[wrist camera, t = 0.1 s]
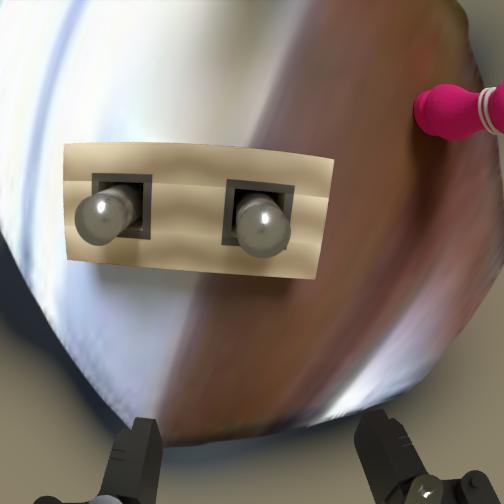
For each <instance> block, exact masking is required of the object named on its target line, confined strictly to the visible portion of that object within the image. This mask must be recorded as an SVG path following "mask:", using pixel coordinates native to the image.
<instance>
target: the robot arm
mask: <svg viewBox="0 0 504 504" xmlns="http://www.w3.org/2000/svg"><path fill="white" fill-rule="evenodd" d="M354 444H355V448H356V451H357V453H358V456H359V459H360V461H361V464H362V467H363V470H364V472H365V475H366V478H367V480H368V483H369V486H370V489H371V492H372V495H373V497H374V500H375V503H376V504H501V503H500V501H499V499H498V497H497V495H496V493H495V491H494V489H493V487H492V486H491V483H490V481H489V479H488V477H487V476H486V475H485V474H484V473H483V472H481V471H477V470H473V471H470V472H468V473H466V474H465V475H464V476H463V477H462V478H461V479H453V480H440V479H439V478H438V477H436V476H434V475H431V474H428V472H427V471H426V469H425V467H424V465H423V463H422V461H421V459H420V457H419V456H418V454H417V452H416V450H415V448H414V446H413V445H412V442H411V440H410V438H409V437H408V434H407V432H406V431H405V429H404V427H403V425H402V424H400V423H399V422H398V421H397V420H396V419H394V418H392V419H388V417H387V415H386V413H385V411H384V410H383V409H381V408H380V409H374V410H369V411H364V412H363V414H362V416H361V419H360V421H359V424H358V426H357V429H356V431H355V434H354ZM162 454H163V444H162V439H161V436H160V432H159V429H158V425H157V422H156V420H155V419H149V418H139V417H136V418H135V420H134V423H133V427H132V430H130V429H122V431H121V432H120V433H119V434H118V435H117V436H116V437H115V440H114V443H113V446H112V451H111V453H110V457H109V458H110V459H109V460H108V464H107V467H106V471H105V475H104V478H103V482H102V485H101V489H100V492H99V494H98V495H97V496H96V497H95V498H93V499H92V500H91V501H88V502H85V503H62V502H61V501H60V500H58V499H57V498H55V497H52V496H42V497H40V498H38V499H37V500H36V501H35V502H34V504H155V503H156V495H157V488H158V481H159V475H160V468H161V461H162Z"/></svg>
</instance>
